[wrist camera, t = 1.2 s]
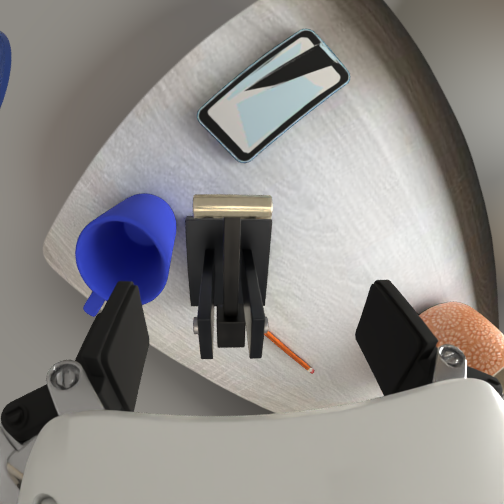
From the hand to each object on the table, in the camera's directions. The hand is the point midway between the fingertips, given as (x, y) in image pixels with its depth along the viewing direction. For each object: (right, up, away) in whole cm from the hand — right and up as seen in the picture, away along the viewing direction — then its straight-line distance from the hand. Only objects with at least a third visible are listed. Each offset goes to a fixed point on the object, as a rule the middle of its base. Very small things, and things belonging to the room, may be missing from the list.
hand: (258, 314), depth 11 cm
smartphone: (+2, +18, +14) cm, 23 cm away
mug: (-13, +5, +19) cm, 24 cm away
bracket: (-3, +1, +22) cm, 22 cm away
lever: (-2, +1, +11) cm, 11 cm away
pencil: (+4, -11, +29) cm, 31 cm away
